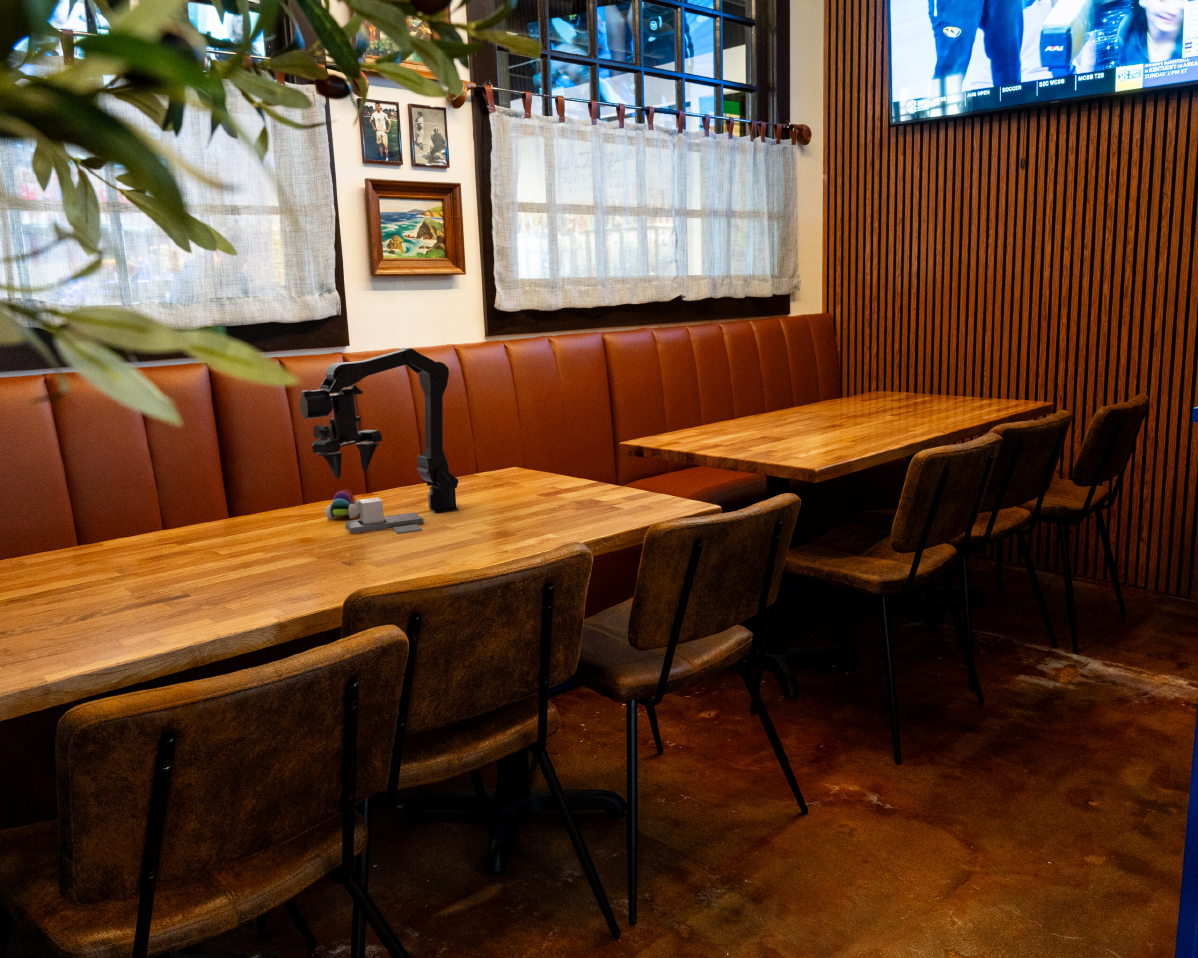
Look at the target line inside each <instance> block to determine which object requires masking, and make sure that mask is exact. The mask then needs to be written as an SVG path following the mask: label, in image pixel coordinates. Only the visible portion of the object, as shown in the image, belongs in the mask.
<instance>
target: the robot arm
mask: <svg viewBox="0 0 1198 958" xmlns="http://www.w3.org/2000/svg"><path fill="white" fill-rule="evenodd" d="M402 366H406V367H408V368H409V369H410V370H411V371H412V372H414V373H416V374H418V379H419V385H420V388H421V389H422V392H423V395H424V451H423V453H422V455H417V457H416V458H417V468H416V471H417V472H418V473H419V477H421V479H422V480H424V481H425V483H426V486H427V487H429V492H428V493H427V498H428V508H429V509H430V510H431V511H432V512H433V513H436V514H437V513H443V512H444V513H445V512H449V511H450V512H451V511H458V510H459V507H457V499H456V498H457V497H456V489H457V488H458V484H459V479H458V478H456V477H455V475H453V474H452V473H451V472H450V469H449V468H450V467H449V463H448V462H449V461H448V459H447V457H446V456H447V455H446V454H445V451H444V400H443V399H444V398H443V397H444V394H445V392H446V390H447V387H448V382H449V376H450V370H449V367H448V365H446V364H445V363H444V362H441V361H435V360H433V359H432V358H429V357H427V356H425V355H424V354H421V353H420V352H418V351H417V350H416V349H413V348H410V347H402V348H400V349H399V350H395V351H392V352H389V353H388V352H387V353H383V354H380V355H377V356H373V357H370V358H367V359H363V360H359V361H358V360H357V361H345V362H344V361H343V362H334V363H331V364H330V365H329V366H327V368H326V370H325V377H324V379H323V381H322V382H321V384H320V386H319V388H318V389H315V390H302V391H301V396H300V400H299V410H300V413H301V417H302V418H303V419H304V420H308V419H315V418H316V419H317V418H323V417H329V416H330V413H332V417H333V418H330V419H329V425H326V426H324V425H323V424H317V425H315V426H313V427H312V430H313V436H314V439H316V440H314V441H313V443H312V445H311V447H312V448H311V449H312V453H313V454H314V453H315V454H317V456H320V457H322V458H324V459H325V460H326V463H328V464H327V465H328V466H329V467H330V470H331V471H332V473H333V476H334V477H335V479H337V480H340V479H341V472H342V456H343V455H342V451H341V452H340V450H341V448H343V447H346V446H350V445H355V447H357V450H358V451H359V457H360V465H361V469H362V472H364V473H365V472H366V473H367V471H368V469H369V466H370V463H371V460H372V458H373V455H374V453H375V451H376V449H377V447H378V446H379V445H380V442H383V436H382V435H383V434H382V433H381V432H380V430H378V429H376V430H375V429H364V430H359V424H358V423H359V422H361V421H362V417H361V416H357V415H358V414H357V404H356V395H362V394H364V392H363V390H362V389H360V388H359V387H357V385H356V384H357V383H359V382H361V381H362V380H364V379H365V378H367V377H368V376H371V375H375V374H378V373H382V372H385V371H389V370H392V369H396V368H399V367H402Z"/></svg>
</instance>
